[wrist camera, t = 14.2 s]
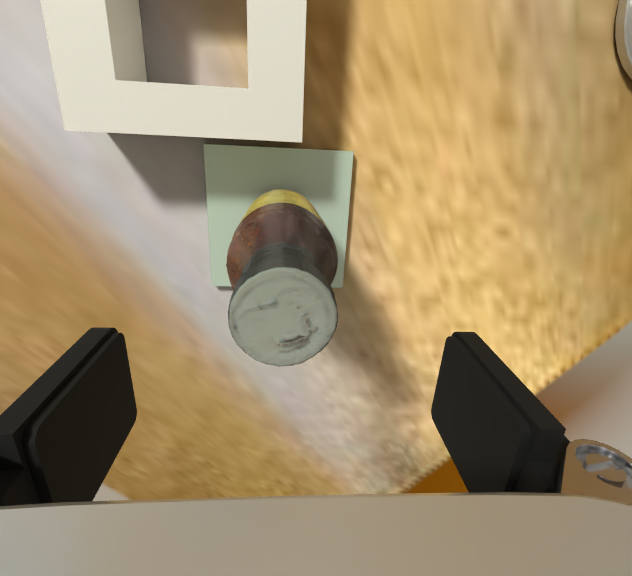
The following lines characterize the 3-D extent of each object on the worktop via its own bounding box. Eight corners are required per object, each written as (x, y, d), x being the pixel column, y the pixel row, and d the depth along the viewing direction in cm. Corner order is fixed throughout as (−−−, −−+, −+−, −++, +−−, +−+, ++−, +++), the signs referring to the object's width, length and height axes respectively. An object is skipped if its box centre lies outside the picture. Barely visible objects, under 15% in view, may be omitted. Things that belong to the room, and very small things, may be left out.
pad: (351, 151, 31) (353, 151, 30) (341, 284, 35) (342, 287, 35) (205, 143, 30) (203, 144, 29) (213, 282, 34) (211, 286, 33)
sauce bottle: (310, 263, 33) (345, 414, 15) (240, 251, 32) (188, 397, 14) (325, 190, 31) (388, 263, 13) (251, 175, 30) (203, 231, 12)
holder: (305, -99, 25) (311, -167, 19) (298, 141, 30) (302, 142, 25) (67, -126, 23) (1, -209, 18) (106, 132, 29) (64, 130, 23)
